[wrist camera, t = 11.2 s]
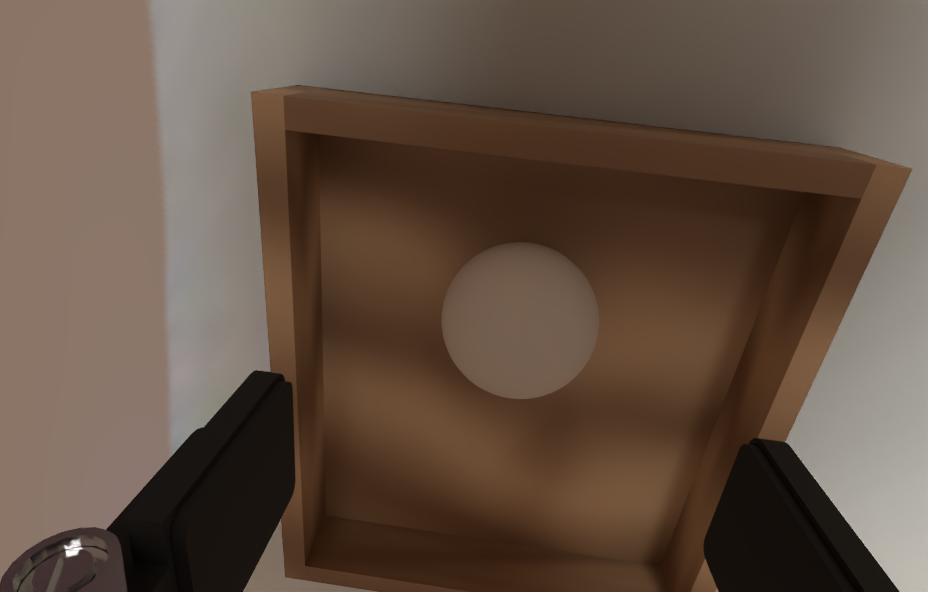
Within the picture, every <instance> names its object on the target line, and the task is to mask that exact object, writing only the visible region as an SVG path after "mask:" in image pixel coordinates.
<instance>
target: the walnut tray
mask: <svg viewBox="0 0 928 592" xmlns="http://www.w3.org/2000/svg"><path fill="white" fill-rule="evenodd" d="M251 97H252V111H253V125H254V139H255V154H256V168H257V182H258V196H259V210H260V225H261V239H262V253H263V267H264V281H265V296H266V310H267V324H268V338H269V352H270V367H271V372H272V373H280V374H283V375H284V378H285V381H287V382H291V383H292V387H293V415H294V446H295V478H296V480H295V488H294V492H293V495H292V498H291V500H290V502H289V504H288V506H287V508H286V510H285V512H284V514H283V516H282V517H281V523H282V537H283V551H284V565H285V577H289V578H295V579H301V580H308V581H314V582H321V583H327V584H333V585H340V586H346V587H353V588H359V589H365V590H372V591H378V592H715V591H716V589H717V587H716V584H715V582H714V579H713V577H712V574H711V572H710V569H709V567H708V565H707V562H706V559H705V556H704V551H703V544H704V539H705V536H706V533H707V531H708V528H709V525H710V523H711V520H712V518H713V515H714V513H715V510H716V507H717V505H718V502H719V500H720V497H721V495H722V492H723V489H724V487H725V484H726V482H727V479H728V477H729V474H730V472H731V469H732V466H733V464H734V461H735V459H736V456H737V454H738V451H739V449H740V447H741V446H742V445H743V444H748V443H749V442H750V441H751V440H752V439H753V438H760V439H768V440H775V441H783V442H785V441H786V439H787V437H788V434H789V432H790V430H791V428H792V426H793V424H794V422H795V419H796V417H797V415H798V413H799V411H800V409H801V407H802V404H803V402H804V400H805V398H806V396H807V394H808V392H809V389H810V387H811V385H812V383H813V381H814V379H815V377H816V374H817V372H818V370H819V368H820V366H821V364H822V362H823V359H824V357H825V355H826V353H827V351H828V349H829V347H830V344H831V342H832V340H833V338H834V336H835V334H836V331H837V329H838V327H839V325H840V323H841V321H842V319H843V316H844V314H845V312H846V310H847V308H848V306H849V304H850V301H851V299H852V297H853V295H854V293H855V291H856V289H857V286H858V284H859V282H860V280H861V278H862V276H863V274H864V271H865V269H866V267H867V265H868V263H869V261H870V259H871V256H872V254H873V252H874V250H875V248H876V246H877V243H878V241H879V239H880V237H881V235H882V233H883V231H884V228H885V226H886V224H887V222H888V220H889V218H890V216H891V213H892V211H893V209H894V207H895V205H896V203H897V201H898V198H899V196H900V194H901V192H902V190H903V188H904V186H905V183H906V181H907V179H908V177H909V175H910V173H911V171H912V169H911V168H907V167H904V166H900V165H897V164H894V163H890V162H887V161H883V160H880V159H876V158H873V157H870V156H866V155H863V154H859V153H856V152H852V151H849V150H846V149H842V148H838V147H829V146H820V145H812V144H803V143H794V142H786V141H777V140H768V139H760V138H751V137H742V136H734V135H725V134H716V133H708V132H699V131H690V130H682V129H673V128H664V127H656V126H647V125H638V124H630V123H621V122H612V121H604V120H595V119H586V118H578V117H569V116H560V115H552V114H543V113H534V112H526V111H517V110H508V109H500V108H491V107H482V106H474V105H465V104H456V103H448V102H439V101H430V100H422V99H413V98H404V97H396V96H387V95H378V94H370V93H361V92H352V91H344V90H335V89H326V88H318V87H309V86H300V85H297V86H290V87H283V88H276V89H269V90H262V91H255V92H251ZM514 242H526V243H534V244H539V245H543V246H546V247H549V248H551V249H553V250H555V251H558V252H559V253H561V254H563V255H564V256H566V257H567V258H568V259H569V260H571V261H572V262H573V263H574V264H575V265H576V266H577V267H578V268H579V269H580V270H581V271H582V272H583V274H584V275H585V277H586V278H587V280H588V281H589V283H590V285H591V287H592V290H593V292H594V294H595V297H596V301H597V305H598V312H599V331H598V337H597V342H596V345H595V348H594V350H593V352H592V355H591V357H590V359H589V361H588V362H587V364H586V365H585V367H584V368H583V369H582V370H581V371H580V373H579V374H578V375H577V376H576V377H575V378H574V379H573V380H572V381H570V382H569V383H568V384H567V385H565V386H564V387H562V388H560V389H558V390H556V391H554V392H552V393H549V394H547V395H544V396H540V397H536V398H530V399H511V398H505V397H501V396H498V395H494V394H492V393H490V392H487V391H485V390H483V389H481V388H480V387H478V386H476V385H475V384H474V383H472V382H471V381H470V380H469V379H468V378H467V377H466V376H464V375H463V373H462V372H461V371H460V370H459V369H458V367H457V366H456V365H455V363H454V362H453V360H452V358H451V356H450V354H449V352H448V350H447V347H446V345H445V341H444V338H443V331H442V309H443V303H444V299H445V296H446V293H447V291H448V288H449V286H450V284H451V282H452V280H453V279H454V277H455V276H456V274H457V273H458V272H459V271H460V269H461V268H462V267H463V266H464V265H465V264H466V263H467V262H468V261H470V260H471V259H472V258H473V257H474V256H476V255H478V254H479V253H481V252H483V251H485V250H487V249H489V248H491V247H494V246H497V245H501V244H506V243H514Z"/></svg>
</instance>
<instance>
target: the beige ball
mask: <svg viewBox="0 0 928 592" xmlns="http://www.w3.org/2000/svg"><path fill="white" fill-rule="evenodd" d="M442 331H443V338H444V341H445V345H446V347H447V350H448V352H449V354H450V356H451V358H452V360H453V362H454V363H455V365H456V366H457V367H458V369H459V370H460V371H461V372H462V373H463V375H464V376H466V377H467V378H468V379H469V380H470V381H471V382H472V383H474V384H475V385H476V386H478V387H480V388H481V389H483V390H485V391H487V392H490V393H492V394H494V395H498V396H501V397H505V398H511V399H530V398H536V397H540V396H544V395H547V394H549V393H552V392H554V391H556V390H558V389H560V388H562V387H564V386H565V385H567V384H568V383H569V382H570V381H572V380H573V379H574V378H575V377H576V376H577V375H578V374H579V373H580V371H581V370H582V369H583V368H584V367H585V365H586V364H587V362H588V361H589V359H590V357H591V355H592V352H593V350H594V348H595V345H596V342H597V337H598V331H599V312H598V305H597V301H596V297H595V294H594V292H593V290H592V287H591V285H590V283H589V281H588V280H587V278H586V277H585V275H584V274H583V272H582V271H581V270H580V269H579V268H578V267H577V266H576V265H575V264H574V263H573V262H572V261H571V260H569V259H568V258H567V257H566V256H564V255H563V254H561V253H559V252H558V251H555V250H553V249H551V248H549V247H546V246H543V245H539V244H534V243H526V242H514V243H506V244H501V245H497V246H494V247H491V248H489V249H487V250H485V251H483V252H481V253H479V254H478V255H476V256H474V257H473V258H472V259H471V260H470V261H468V262H467V263H466V264H465V265H464V266H463V267H462V268H461V269H460V271H459V272H458V273H457V274H456V276H455V277H454V279H453V280H452V282H451V284H450V286H449V288H448V291H447V293H446V296H445V299H444V303H443V309H442Z"/></svg>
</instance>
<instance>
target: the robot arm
mask: <svg viewBox="0 0 928 592" xmlns="http://www.w3.org/2000/svg"><path fill="white" fill-rule="evenodd" d="M295 480H296V478H295V446H294V415H293V387H292V383H291V382H287V381H285V378H284V375H283V374H280V373H272V372H265V371H257V370H256V371H253V372H252V373H251V374H250V375H249V376H248V378H247V379H246V380H245V381H244V382H243V383H242V384H241V386H240V387H239V388H238V389H237V390H236V391H235V392H234V394H233V395H232V396H231V397H230V398H229V399H228V400H227V402H226V403H225V404H224V405H223V406H222V407H221V408H220V410H219V411H218V412H217V413H216V414H215V415H214V416H213V418H212V419H211V420H210V421H209V422H208V423H207V424H206V426H205V427H204V428H200V429H197V430H196V431H195V432H193V433H192V434H191V435H190V436H189V437H188V439H187V440H186V441H185V442H184V443H183V444H182V445H181V446H180V448H179V449H178V450H177V451H176V452H175V453H174V454H173V455H172V457H171V458H170V459H169V460H168V461H167V462H166V463H165V465H164V466H163V467H162V468H161V469H160V470H159V471H158V472H157V473H156V474H155V476H154V477H153V478H152V479H151V480H150V481H149V482H148V483H147V484H146V486H145V487H144V488H143V489H142V490H141V491H140V492H139V494H138V495H137V496H136V497H135V498H134V499H133V500H132V501H131V503H130V504H129V505H128V506H127V507H126V508H125V509H124V510H123V512H121V514H120V515H119V516H118V517H117V518H116V519H115V520H114V521H113V523H112V524H111V525H110V526H109V527H108V528H107V529H106V530H104V529H100V528H96V527H92V528H77V529H73V530H68V531H64V532H61V533H58V534H56V535H54V536H51V537H49V538H47V539H44V540H42V541H41V542H39V543H38V544H36V545H34V546H33V547H31V548H29V549H28V550H26V551H25V552H24V553H23V554H22V555H21V556H19V557H18V558H17V559H16V560H15V561H14V562H13V563H12V564H11V565H10V567H9V568H8V569H7V571H6V572H5V574H4V575H3V576H2V579H1V582H0V592H243V590H244V589H245V587H246V585H247V583H248V581H249V579H250V577H251V575H252V573H253V571H254V569H255V567H256V566H257V564H258V562H259V560H260V558H261V556H262V554H263V552H264V550H265V548H266V546H267V544H268V542H269V541H270V539H271V537H272V535H273V533H274V531H275V529H276V527H277V525H278V523H279V521H280V519H281V517H282V516H283V514H284V512H285V510H286V508H287V506H288V504H289V502H290V500H291V498H292V495H293V492H294V488H295ZM703 551H704V556H705V559H706V562H707V565H708V567H709V569H710V572H711V574H712V577H713V579H714V582H715V584H716V587H717V589H718V592H899V590H898V589H897V588H896V586H895V585H894V584H893V582H892V581H891V580H890V578H889V577H888V576H887V574H886V573H885V572H884V570H883V569H882V568H881V566H880V565H879V564H878V562H877V561H876V560H875V558H874V557H873V556H872V554H871V553H870V552H869V551H868V549H867V548H866V547H865V545H864V544H863V543H862V541H861V540H860V539H859V537H858V536H857V535H856V533H855V532H854V531H853V529H852V528H851V527H850V525H849V524H848V523H847V521H846V520H845V519H844V517H843V516H842V515H841V513H840V512H839V511H838V509H837V508H836V507H835V505H834V504H833V503H832V501H831V500H830V499H829V497H828V496H827V495H826V493H825V492H824V491H823V490H822V488H821V487H820V486H819V484H818V483H817V482H816V480H815V479H814V478H813V476H812V475H811V474H810V472H809V471H808V470H807V468H806V467H805V466H804V464H803V463H802V462H801V460H800V459H799V458H798V456H797V455H796V454H795V452H794V451H793V450H792V448H791V447H790V446H789V445H788V444H787V443H785V442H783V441H775V440H768V439H760V438H753V439H752V440H751V441H750V442H749V443H748V444H743V445H742V446H741V447H740V449H739V451H738V454H737V456H736V459H735V461H734V464H733V466H732V469H731V472H730V474H729V477H728V479H727V482H726V484H725V487H724V489H723V492H722V495H721V497H720V500H719V502H718V505H717V507H716V510H715V513H714V515H713V518H712V520H711V523H710V525H709V528H708V531H707V533H706V536H705V539H704V544H703Z"/></svg>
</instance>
